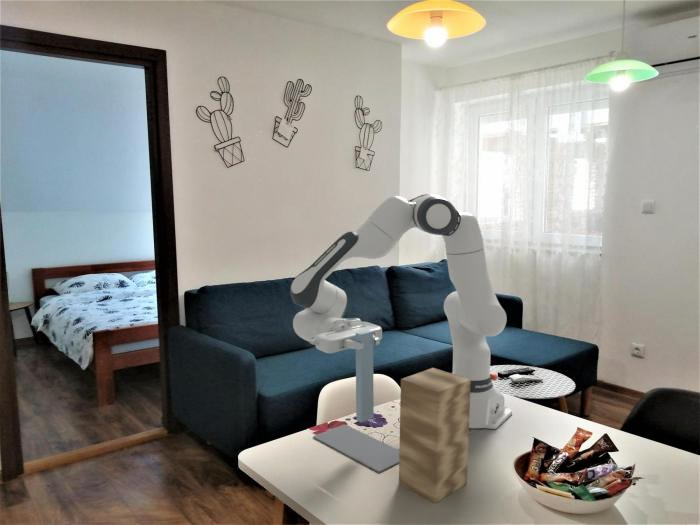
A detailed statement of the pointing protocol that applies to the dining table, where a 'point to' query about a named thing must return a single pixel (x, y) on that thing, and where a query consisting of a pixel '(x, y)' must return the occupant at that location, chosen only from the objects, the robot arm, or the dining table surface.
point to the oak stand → (434, 433)
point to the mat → (360, 447)
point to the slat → (364, 377)
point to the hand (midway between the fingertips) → (369, 344)
